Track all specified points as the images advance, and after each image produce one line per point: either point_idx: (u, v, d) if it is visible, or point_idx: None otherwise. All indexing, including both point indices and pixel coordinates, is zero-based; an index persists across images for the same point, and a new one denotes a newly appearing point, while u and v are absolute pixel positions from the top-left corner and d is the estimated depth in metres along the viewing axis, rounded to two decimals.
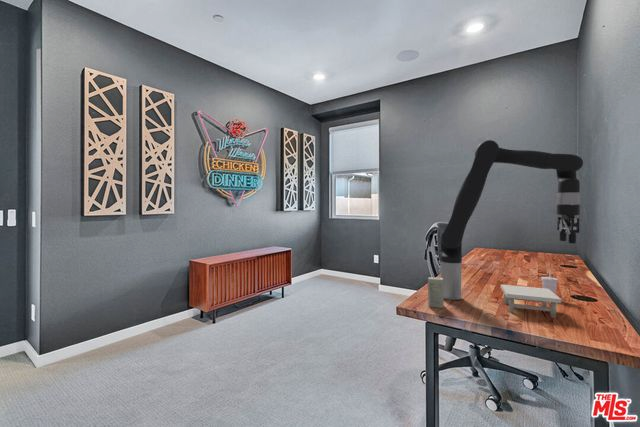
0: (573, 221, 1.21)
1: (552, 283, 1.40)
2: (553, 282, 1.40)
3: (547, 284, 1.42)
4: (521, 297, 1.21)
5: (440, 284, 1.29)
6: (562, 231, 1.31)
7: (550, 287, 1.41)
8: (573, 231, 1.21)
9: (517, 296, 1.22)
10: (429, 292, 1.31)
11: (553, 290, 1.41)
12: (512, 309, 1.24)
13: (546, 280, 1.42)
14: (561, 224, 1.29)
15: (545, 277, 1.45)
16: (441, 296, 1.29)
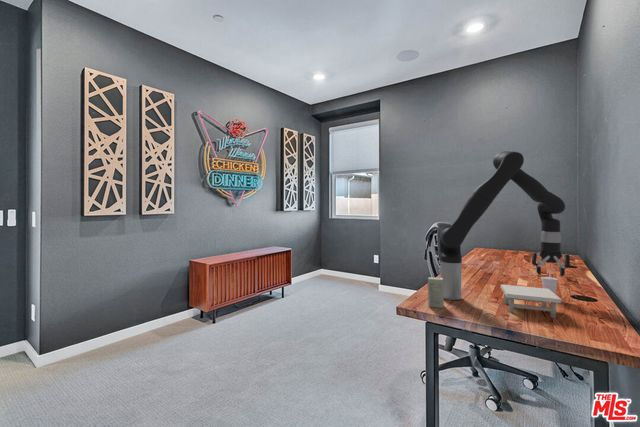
0: None
1: (552, 283, 1.40)
2: (553, 282, 1.40)
3: (547, 284, 1.42)
4: (521, 297, 1.21)
5: (440, 284, 1.29)
6: None
7: (550, 287, 1.41)
8: None
9: (517, 296, 1.22)
10: (429, 292, 1.31)
11: (553, 290, 1.41)
12: (512, 309, 1.24)
13: (546, 280, 1.42)
14: (546, 260, 1.42)
15: (545, 277, 1.45)
16: (441, 296, 1.29)
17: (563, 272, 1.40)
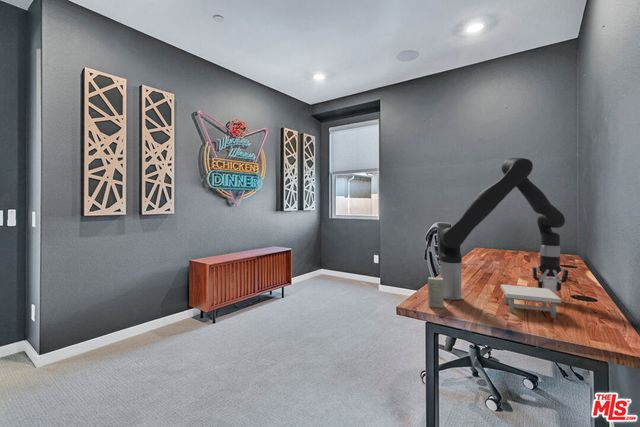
0: None
1: (552, 283, 1.40)
2: (553, 282, 1.40)
3: (547, 284, 1.42)
4: (521, 297, 1.21)
5: (440, 284, 1.29)
6: None
7: (550, 287, 1.41)
8: None
9: (517, 296, 1.22)
10: (429, 292, 1.31)
11: (553, 290, 1.41)
12: (512, 309, 1.24)
13: (546, 280, 1.42)
14: (546, 274, 1.42)
15: (545, 277, 1.45)
16: (441, 296, 1.29)
17: (559, 287, 1.41)
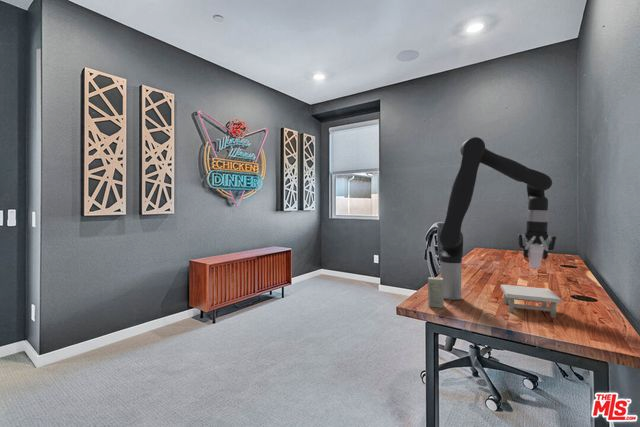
0: None
1: (538, 250, 1.30)
2: (540, 249, 1.30)
3: (533, 252, 1.32)
4: (521, 297, 1.21)
5: (440, 284, 1.29)
6: None
7: (536, 255, 1.31)
8: None
9: (517, 296, 1.22)
10: (429, 292, 1.31)
11: (539, 258, 1.31)
12: (512, 309, 1.24)
13: (532, 247, 1.32)
14: (533, 241, 1.32)
15: (531, 245, 1.35)
16: (441, 296, 1.29)
17: (546, 255, 1.31)
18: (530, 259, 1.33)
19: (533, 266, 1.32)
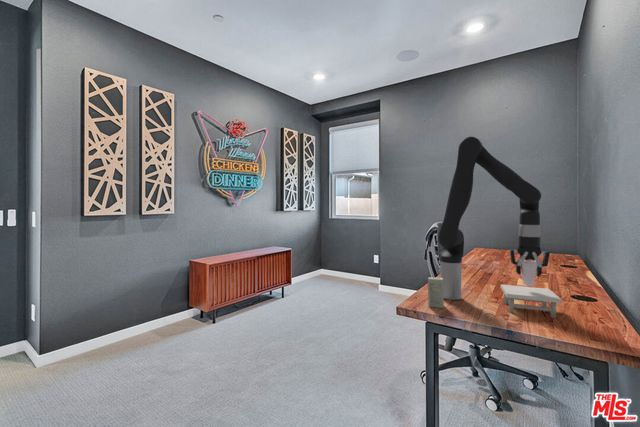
0: None
1: (531, 267, 1.24)
2: (532, 266, 1.24)
3: (526, 268, 1.25)
4: (521, 297, 1.21)
5: (440, 284, 1.29)
6: None
7: (529, 271, 1.25)
8: None
9: (517, 296, 1.22)
10: (429, 292, 1.31)
11: (533, 275, 1.24)
12: (512, 309, 1.24)
13: (525, 264, 1.25)
14: (525, 257, 1.26)
15: (524, 261, 1.28)
16: (441, 296, 1.29)
17: (540, 271, 1.25)
18: (523, 276, 1.27)
19: (526, 283, 1.26)
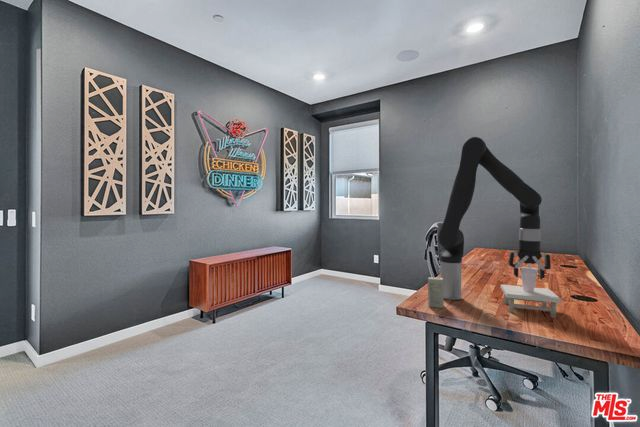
0: None
1: (531, 274, 1.24)
2: (532, 272, 1.24)
3: (526, 275, 1.25)
4: (521, 297, 1.21)
5: (440, 284, 1.29)
6: None
7: (529, 278, 1.25)
8: None
9: (517, 296, 1.22)
10: (429, 292, 1.31)
11: (532, 281, 1.25)
12: (512, 309, 1.24)
13: (525, 270, 1.25)
14: (524, 260, 1.26)
15: (524, 267, 1.28)
16: (441, 296, 1.29)
17: (543, 274, 1.24)
18: (523, 282, 1.27)
19: (526, 290, 1.26)
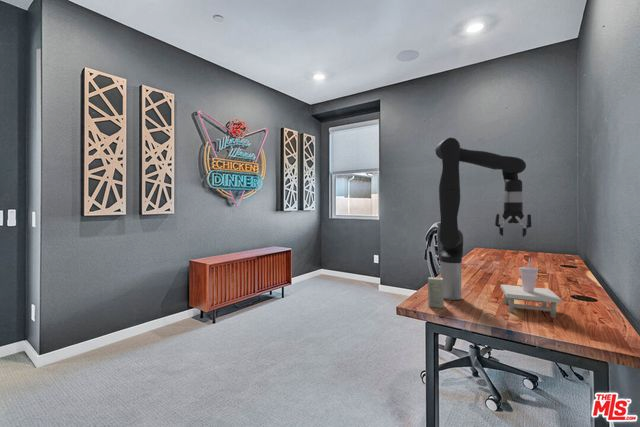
0: None
1: (531, 273, 1.24)
2: (532, 272, 1.24)
3: (526, 275, 1.25)
4: (521, 297, 1.21)
5: (440, 284, 1.29)
6: None
7: (529, 278, 1.25)
8: None
9: (517, 296, 1.22)
10: (429, 292, 1.31)
11: (532, 281, 1.25)
12: (512, 309, 1.24)
13: (525, 270, 1.25)
14: (508, 220, 1.42)
15: (524, 267, 1.28)
16: (441, 296, 1.29)
17: (525, 232, 1.40)
18: (523, 282, 1.27)
19: (526, 290, 1.26)
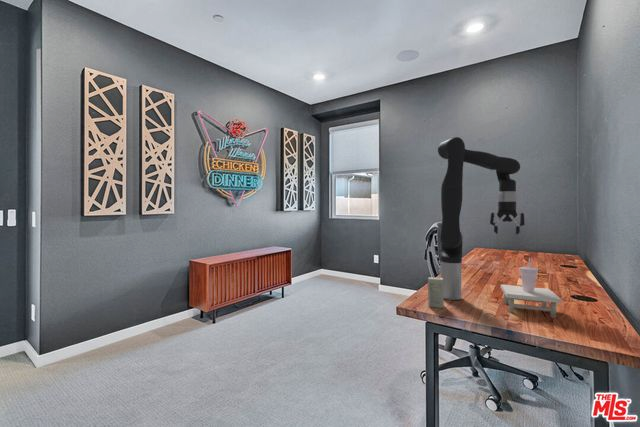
0: None
1: (531, 273, 1.24)
2: (532, 272, 1.24)
3: (526, 275, 1.25)
4: (521, 297, 1.21)
5: (440, 284, 1.29)
6: None
7: (529, 278, 1.25)
8: None
9: (517, 296, 1.22)
10: (429, 292, 1.31)
11: (532, 281, 1.25)
12: (512, 309, 1.24)
13: (525, 270, 1.25)
14: (503, 219, 1.48)
15: (524, 267, 1.28)
16: (441, 296, 1.29)
17: (518, 230, 1.46)
18: (523, 282, 1.27)
19: (526, 290, 1.26)
